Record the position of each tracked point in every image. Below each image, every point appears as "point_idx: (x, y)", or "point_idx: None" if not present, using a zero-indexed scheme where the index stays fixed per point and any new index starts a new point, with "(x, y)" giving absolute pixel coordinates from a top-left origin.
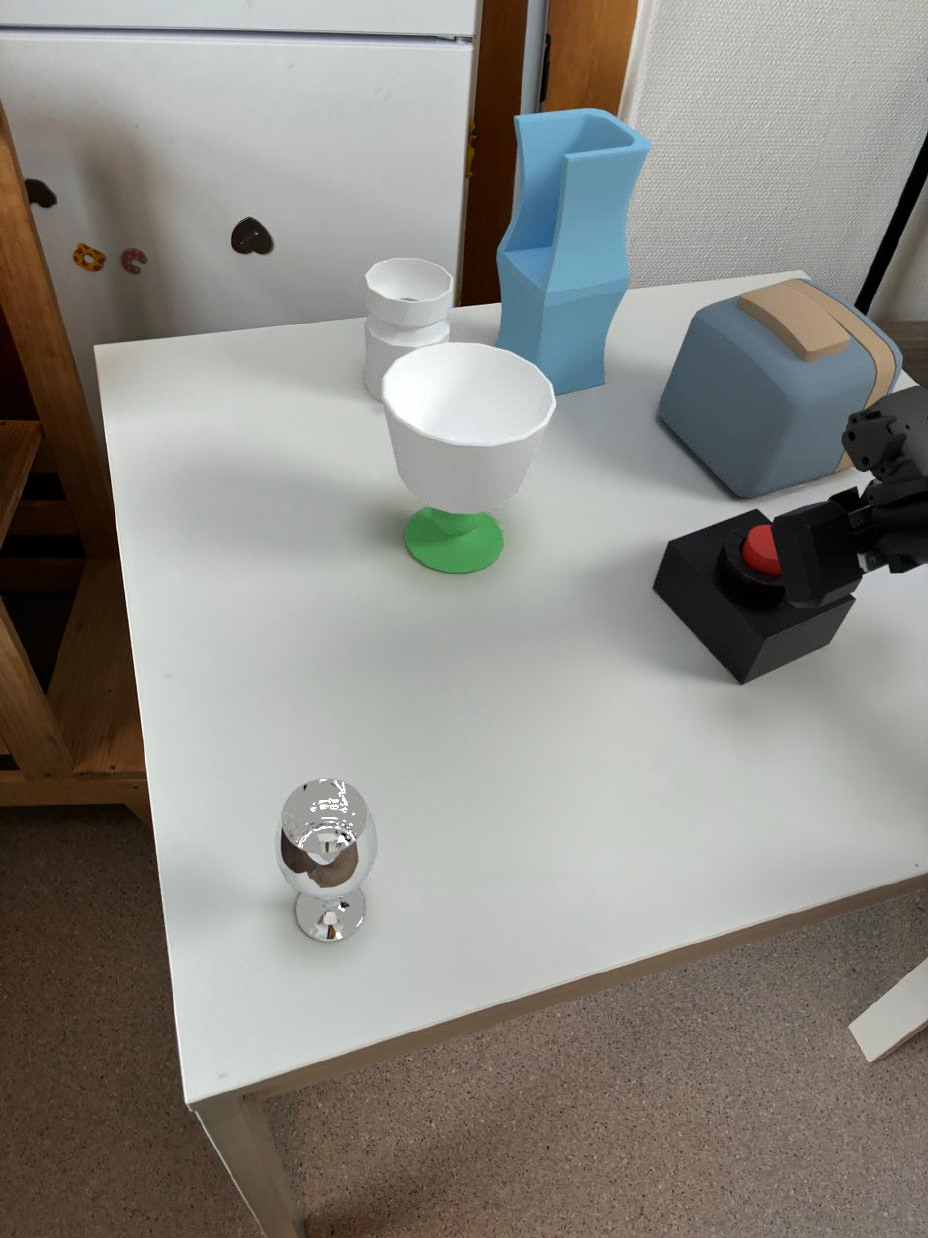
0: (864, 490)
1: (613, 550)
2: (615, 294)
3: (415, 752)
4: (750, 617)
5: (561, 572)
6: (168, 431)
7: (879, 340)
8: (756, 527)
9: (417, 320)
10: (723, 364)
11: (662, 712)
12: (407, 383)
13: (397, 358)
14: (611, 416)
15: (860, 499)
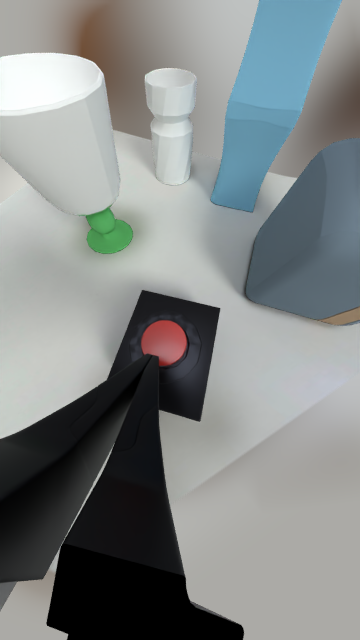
0: (74, 522)
1: (158, 280)
2: (282, 129)
3: None
4: (116, 370)
5: (126, 274)
6: None
7: None
8: (168, 321)
9: (158, 109)
10: (301, 197)
11: (77, 364)
12: (53, 95)
13: (155, 143)
14: (236, 226)
15: (95, 488)
